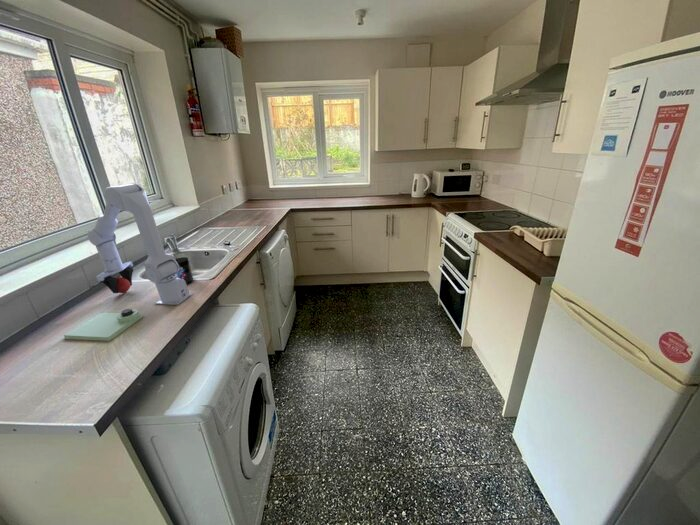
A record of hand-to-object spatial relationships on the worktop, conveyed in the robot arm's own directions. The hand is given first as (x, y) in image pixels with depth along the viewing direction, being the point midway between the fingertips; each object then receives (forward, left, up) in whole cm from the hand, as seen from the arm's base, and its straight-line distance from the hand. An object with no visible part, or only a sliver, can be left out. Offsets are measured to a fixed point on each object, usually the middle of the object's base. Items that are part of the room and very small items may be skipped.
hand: (122, 289), depth 118 cm
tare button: (-21, +19, +1) cm, 28 cm away
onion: (0, 0, -2) cm, 2 cm away
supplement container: (-20, -11, -2) cm, 23 cm away
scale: (-15, +23, -2) cm, 28 cm away
